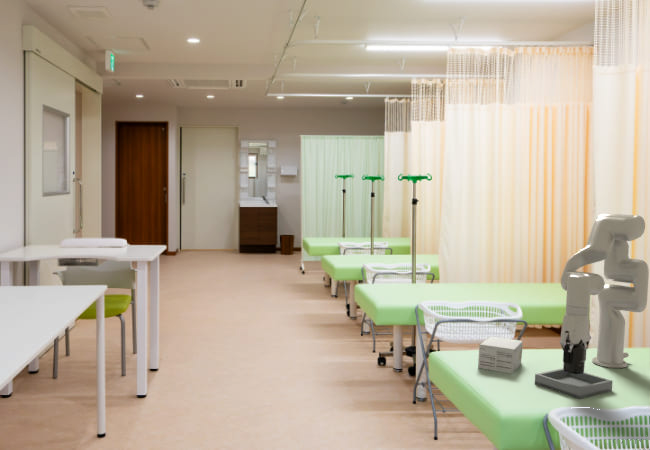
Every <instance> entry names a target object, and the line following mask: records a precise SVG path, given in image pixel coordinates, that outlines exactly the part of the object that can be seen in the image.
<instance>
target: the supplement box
mask: <svg viewBox="0 0 650 450" xmlns="http://www.w3.org/2000/svg"><path fill="white" fill-rule="evenodd" d="M523 343H524V342H523V340H520V339H519V340H518V339H511V338H506V337H505V338H504V337H497V336H489V337H488V338H486V339H485V340H483V341H482V342H481V343H480V344H479V345H478V361H477V364H478V365H477V368H479V369H482V368H483V370H488V369H489V371H495V372H500V373H506V374H513V373H514V372H515V371H516V370H517V369H518V367H520V365H521V364H522V355H523Z"/></svg>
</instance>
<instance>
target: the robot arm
mask: <svg viewBox="0 0 650 450" xmlns="http://www.w3.org/2000/svg"><path fill="white" fill-rule="evenodd" d="M592 224H593V225H592V228H591V230H590V234H589V236H588V240H587V242H586V245H585V246H584V248H582V249H580V250H579V251H577V252H576V253H574V254H573V255H572V256H571V257H570V258H569V259H568V260H567V261H566V263H565V266H564V268H563V270H562V271H563V272H562V274H561V276H560V277H561V278H560V285H561V288H562V289H563V290H564V291H566V299H565V300H566V301H565V314H564V315H563V320H562V323H561V324H562V325H561V330H560V331H561V332H560V340H559V344H560V346H561V348H562V351H563V356H562V362H563V363H564V362H565V363H569V364H572V355H573V352H571V351H572V348H573V345H575V344H578V343H579V342H580V340H581V339H583V341H582V342H583V344H582V345H583V346H584V347H585V362H586V360H587V350H588V346H589V344H590V341H591V339H592V336H591V334H590V327H591V326H590V303H591V296H597V300H598V307H599V308H598V310H599V311H598V312H599V313H598V314H599V317H598V334H597V350H596V356H594V357H593V358H592V360H591V361H592V363H594V364H596V365H598V366H601V367H605V368H613V369H624V368H626V367H628V363H627V361H625V360H624V359H625V358H628V357H629V353H628V352H624V350H625V348H624V347H625V335H626V334H625V333H626V319H625V317H624V315H623V314H622V312H621V311H623V312H624V311H626V312H634V313H642V312H644V311H645V310H646V308H647V305H648V304H647V303H648V292H649V277H650V276H649V270H650V269H649V265H648V264H647V262H646V261H645V260H642V259H637V258H629V252H630V251H629V250H630V249H629V248H630V245H629V243H628V242H632V241H636V240H637V239H639V238H641V237H642V236H643V234H644V233H645V229H646V221H645V219H644V217H642V216H641V215H638V214H637V215H636V214H619V213H602V214H599V215H598V216H597V217H596V219H595V220H594V223H592ZM602 261H604V262H603V275H604V277H603V276H601V274H598V273H593V272H586V271H585V272H583V271H578V270H579V269H580V268H582V267H585V266H587V265H590V264H594V263H598V262H599V263H600V262H602ZM604 278H605V279H607V280H608V281H610V282H617V283H625V284H631V285H632V286H628V285H627V286H626V285H619V284H612V283H609V284H605V282H606V281H605V279H604ZM568 341H570V343H569V342H568ZM568 345H570V346H569V347H568Z"/></svg>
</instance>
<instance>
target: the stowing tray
mask: <svg viewBox="0 0 650 450" xmlns="http://www.w3.org/2000/svg"><path fill="white" fill-rule="evenodd" d="M534 385H537V386H540V387H543V388H546V389H549V390H551V391H555V392H557V393H561V394H564V395H567V396H570V397H571V398H572V397H573V398H575V399H578V400H581V399H584V398H589V397H593V396H596V395H601V394H604V393H608V392H612V390H613V380H611V379H608V378H605V377H602V376H598V375H594V374H590V373H588V372H586V371H584V373H582V374H572V373H567V372H565V371H564V370H563V367H562V368H557V369H553V370H549V371H544V372H540V373H534Z"/></svg>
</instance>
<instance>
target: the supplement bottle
mask: <svg viewBox="0 0 650 450" xmlns="http://www.w3.org/2000/svg"><path fill="white" fill-rule="evenodd" d="M582 341H583V339H581V340H580V342H579V343H578V344H575V345H573V348H572V351H571V352H573V355H572V364H569V363H565V362H563V365H562V366H563V367H562V368H563V370H564V371H565V372H567V373H572V374H582V373H584V372H585V362H586V361H585V347H584V346H583V345H582V344H583V342H582ZM568 342H569V343H570V341H568ZM569 346H570V345H568V347H569Z"/></svg>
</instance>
